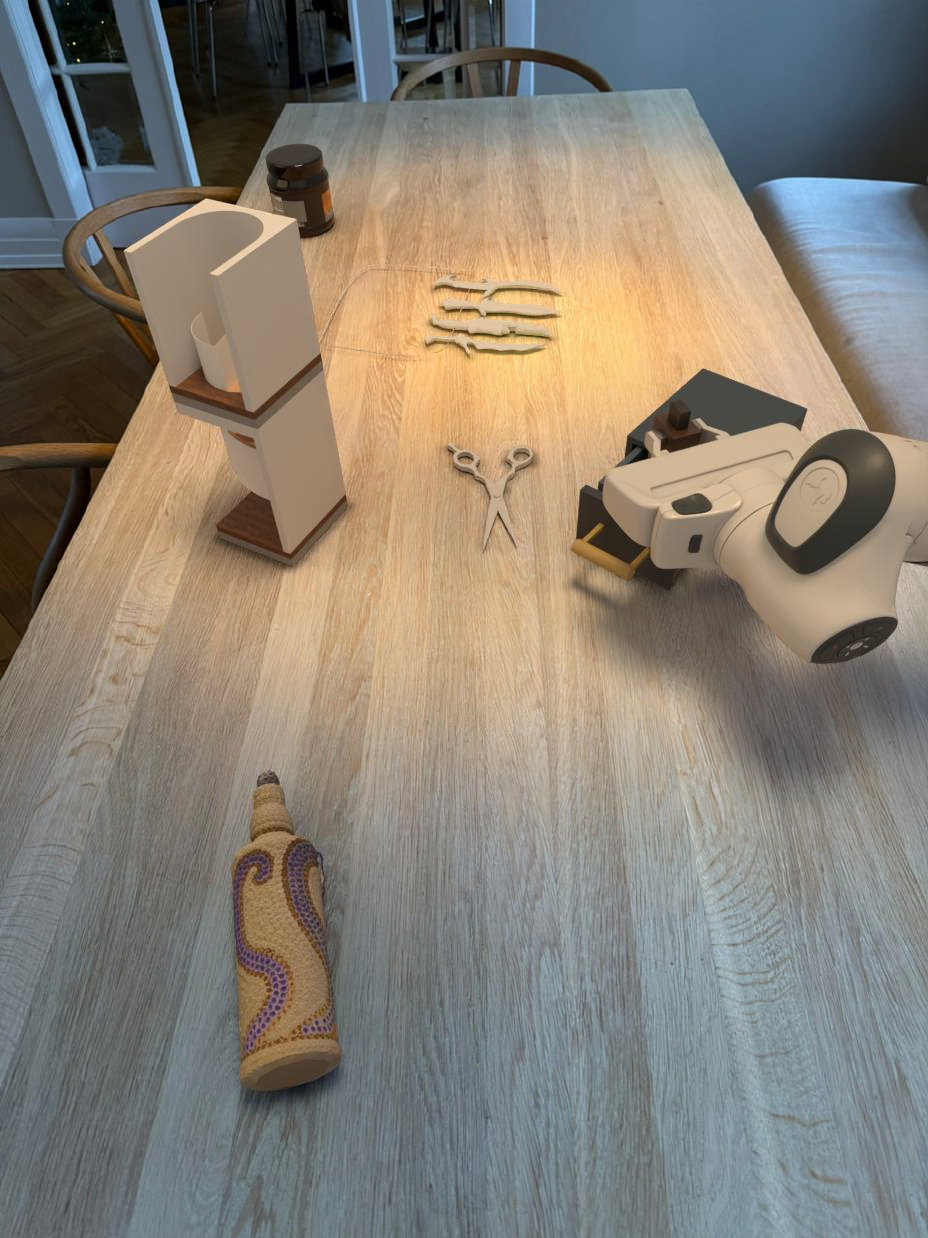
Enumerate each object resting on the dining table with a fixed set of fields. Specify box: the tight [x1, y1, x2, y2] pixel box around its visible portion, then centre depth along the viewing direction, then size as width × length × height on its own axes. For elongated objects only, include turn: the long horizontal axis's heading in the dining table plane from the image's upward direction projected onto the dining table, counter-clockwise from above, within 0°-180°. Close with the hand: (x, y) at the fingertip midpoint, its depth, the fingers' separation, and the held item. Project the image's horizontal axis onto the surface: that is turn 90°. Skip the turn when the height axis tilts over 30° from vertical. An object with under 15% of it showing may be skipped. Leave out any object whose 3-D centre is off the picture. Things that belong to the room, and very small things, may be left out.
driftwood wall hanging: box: [318, 263, 565, 357], centre depth 134 cm, size 26×35×1 cm
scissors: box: [447, 441, 534, 551], centre depth 107 cm, size 11×1×20 cm
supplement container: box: [265, 143, 335, 238], centre depth 152 cm, size 10×10×12 cm
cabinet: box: [624, 368, 808, 458], centre depth 103 cm, size 17×14×10 cm
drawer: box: [571, 446, 682, 592], centre depth 97 cm, size 20×12×8 cm, turn 140°
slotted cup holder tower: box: [123, 198, 349, 567], centre depth 92 cm, size 11×11×35 cm
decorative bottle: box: [230, 770, 343, 1092], centre depth 71 cm, size 26×8×7 cm, turn 12°
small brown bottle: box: [648, 400, 701, 459], centre depth 87 cm, size 4×3×8 cm
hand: (670, 430), depth 87 cm, fingers closed on small brown bottle, 3 cm apart
